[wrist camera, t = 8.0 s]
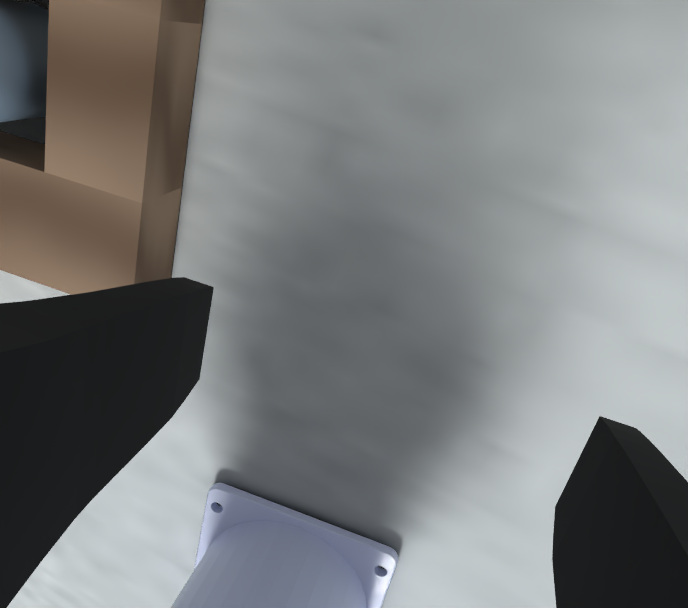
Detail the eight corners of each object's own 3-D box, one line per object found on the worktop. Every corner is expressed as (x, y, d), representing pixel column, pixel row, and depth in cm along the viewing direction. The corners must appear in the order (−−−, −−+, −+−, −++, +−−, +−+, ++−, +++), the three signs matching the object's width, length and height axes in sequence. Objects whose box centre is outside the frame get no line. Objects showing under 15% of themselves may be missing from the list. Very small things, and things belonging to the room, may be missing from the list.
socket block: (169, 289, 23) (131, 315, 21) (-106, 196, 25) (-169, 211, 22) (220, -125, 17) (176, -152, 15) (-137, -208, 19) (-224, -242, 17)
